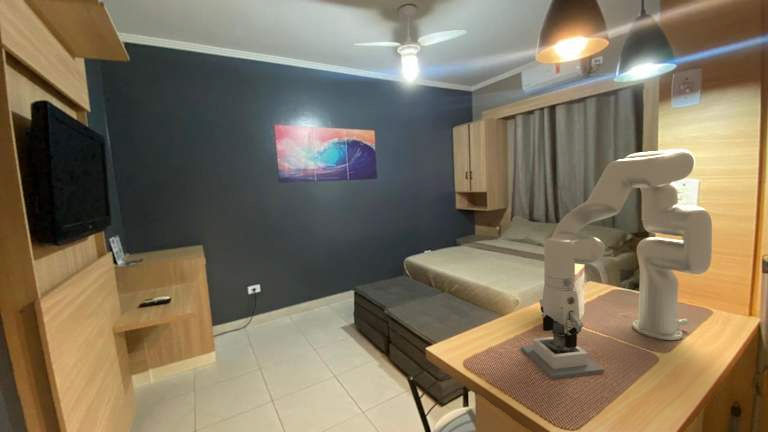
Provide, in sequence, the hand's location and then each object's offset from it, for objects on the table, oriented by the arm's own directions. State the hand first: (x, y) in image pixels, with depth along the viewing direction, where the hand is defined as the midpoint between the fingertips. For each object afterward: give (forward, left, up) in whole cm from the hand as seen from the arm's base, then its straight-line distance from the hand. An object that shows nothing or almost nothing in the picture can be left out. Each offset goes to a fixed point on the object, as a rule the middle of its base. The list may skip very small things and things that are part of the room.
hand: (559, 338), depth 90 cm
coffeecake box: (-21, -24, -7) cm, 33 cm away
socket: (0, 0, -7) cm, 7 cm away
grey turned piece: (0, 0, -6) cm, 6 cm away
